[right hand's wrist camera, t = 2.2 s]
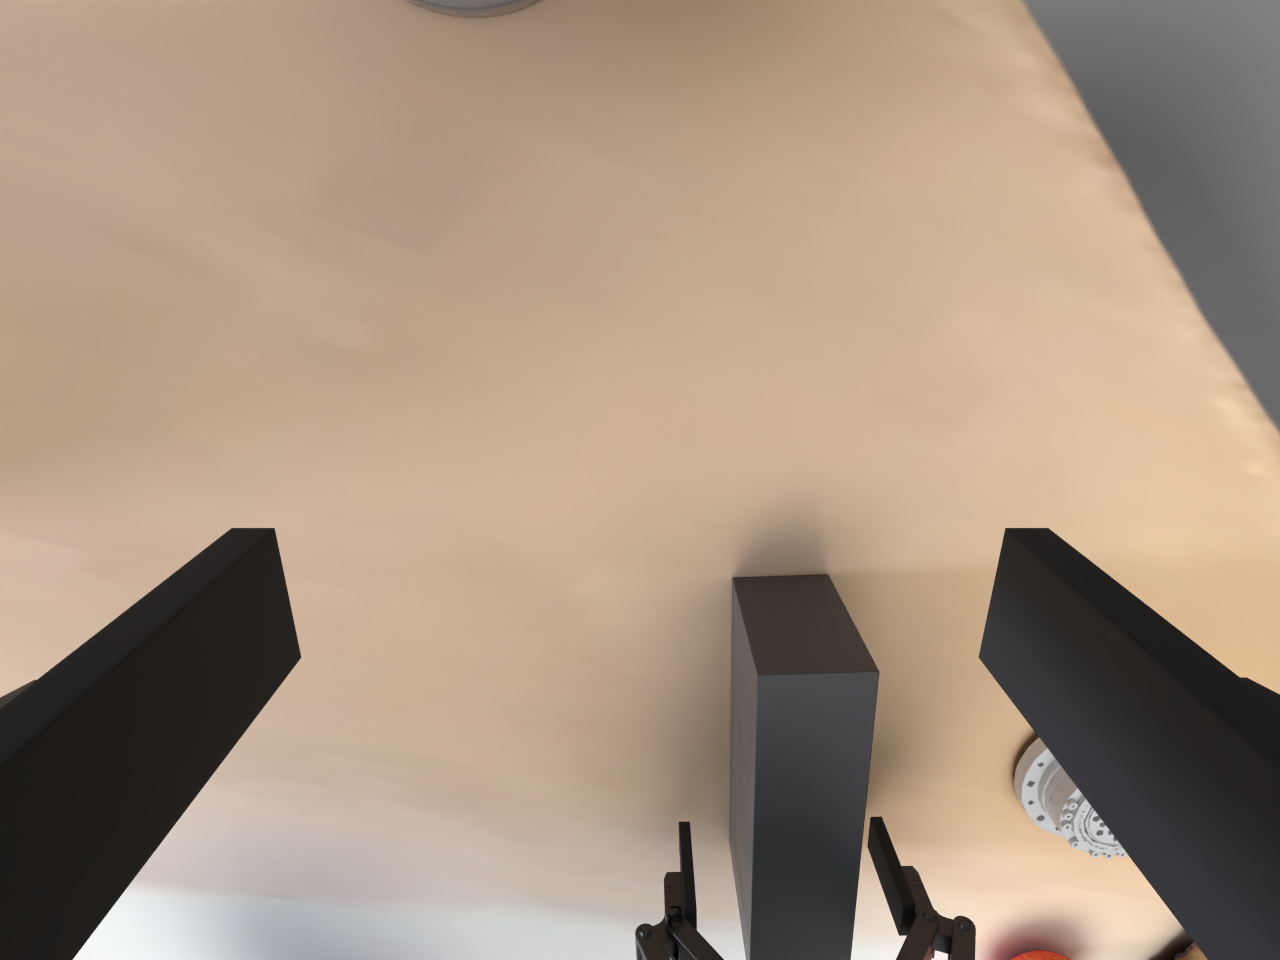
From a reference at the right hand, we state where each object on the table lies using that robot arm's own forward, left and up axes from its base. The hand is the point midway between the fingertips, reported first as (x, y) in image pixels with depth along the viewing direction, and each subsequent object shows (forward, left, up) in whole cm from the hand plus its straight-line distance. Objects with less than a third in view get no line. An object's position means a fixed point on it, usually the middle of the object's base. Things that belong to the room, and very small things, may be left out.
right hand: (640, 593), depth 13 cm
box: (+13, +25, -28) cm, 40 cm away
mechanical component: (+1, +44, -28) cm, 52 cm away
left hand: (+18, +30, -26) cm, 44 cm away
